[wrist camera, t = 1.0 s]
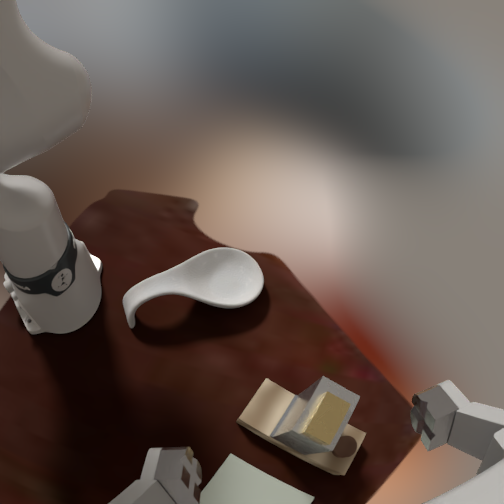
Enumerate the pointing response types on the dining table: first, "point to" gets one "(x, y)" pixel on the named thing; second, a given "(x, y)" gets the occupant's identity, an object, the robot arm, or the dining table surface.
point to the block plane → (272, 414)
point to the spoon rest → (203, 281)
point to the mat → (248, 487)
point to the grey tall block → (317, 418)
